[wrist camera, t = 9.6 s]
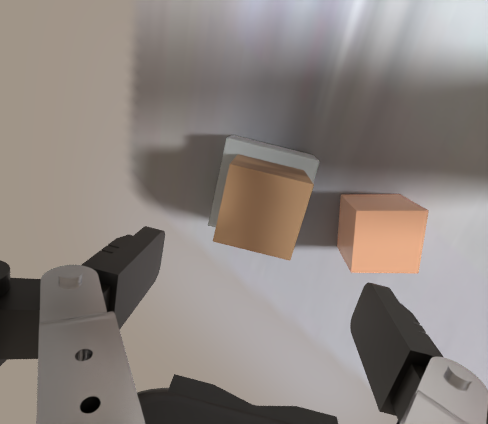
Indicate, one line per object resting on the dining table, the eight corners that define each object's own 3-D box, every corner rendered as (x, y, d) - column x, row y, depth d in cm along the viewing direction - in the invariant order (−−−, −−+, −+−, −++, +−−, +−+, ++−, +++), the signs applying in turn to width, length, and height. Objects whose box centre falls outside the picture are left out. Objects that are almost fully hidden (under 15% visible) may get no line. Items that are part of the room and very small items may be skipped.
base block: (312, 154, 25) (320, 161, 22) (289, 228, 28) (292, 246, 24) (232, 134, 26) (226, 137, 22) (216, 210, 28) (207, 225, 24)
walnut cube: (304, 170, 22) (314, 184, 17) (285, 231, 24) (290, 260, 19) (238, 153, 22) (229, 163, 17) (223, 216, 24) (212, 241, 19)
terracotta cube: (399, 193, 26) (428, 210, 21) (392, 246, 28) (418, 273, 23) (340, 194, 26) (356, 210, 22) (336, 246, 28) (351, 272, 23)
